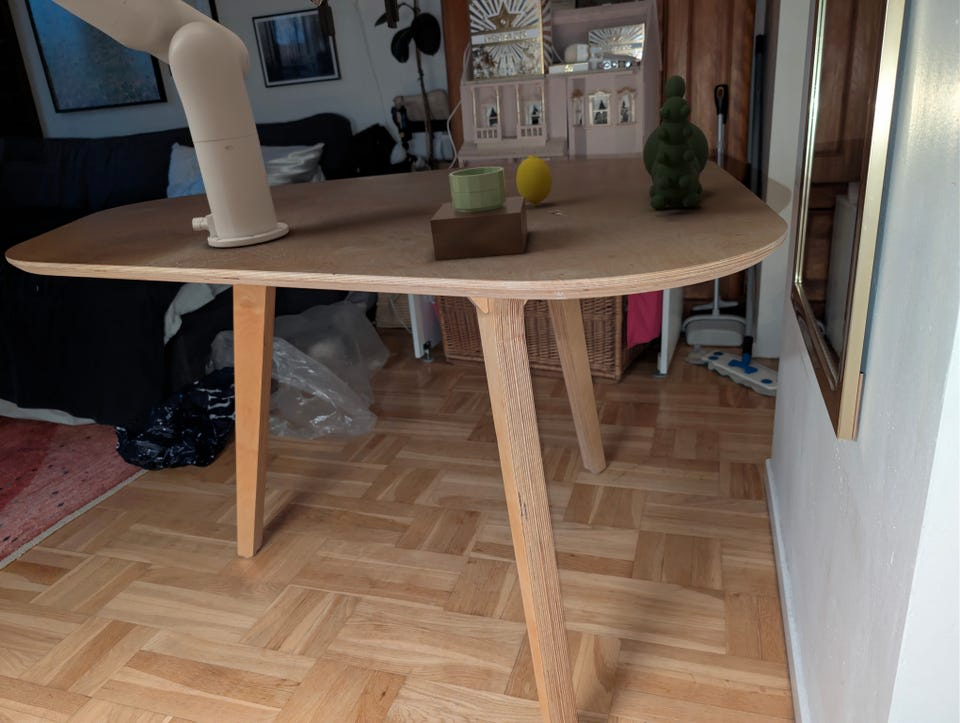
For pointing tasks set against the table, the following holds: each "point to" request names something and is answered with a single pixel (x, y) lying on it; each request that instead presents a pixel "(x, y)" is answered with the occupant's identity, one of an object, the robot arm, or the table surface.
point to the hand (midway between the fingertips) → (361, 31)
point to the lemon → (533, 180)
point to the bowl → (478, 189)
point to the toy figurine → (675, 152)
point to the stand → (480, 231)
